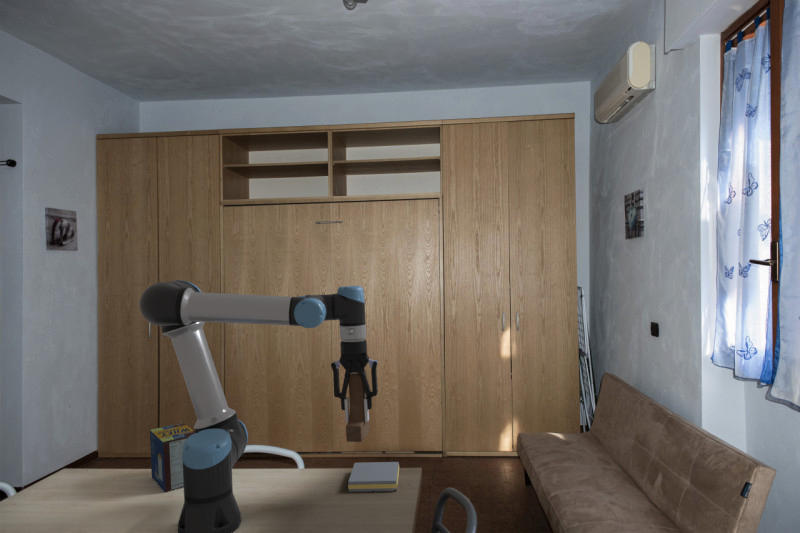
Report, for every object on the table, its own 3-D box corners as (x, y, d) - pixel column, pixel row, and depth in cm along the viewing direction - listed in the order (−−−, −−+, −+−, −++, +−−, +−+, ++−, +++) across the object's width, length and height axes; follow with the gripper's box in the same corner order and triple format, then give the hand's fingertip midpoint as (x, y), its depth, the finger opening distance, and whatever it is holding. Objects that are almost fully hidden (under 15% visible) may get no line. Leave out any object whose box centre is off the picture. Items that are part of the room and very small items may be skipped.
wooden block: (361, 442, 140) (358, 377, 140) (346, 442, 141) (342, 377, 141) (370, 431, 149) (366, 370, 149) (355, 431, 150) (352, 370, 150)
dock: (348, 492, 147) (348, 481, 147) (354, 472, 161) (354, 462, 161) (397, 491, 146) (396, 481, 146) (399, 471, 160) (399, 461, 160)
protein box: (184, 468, 169) (183, 422, 169) (200, 482, 157) (198, 433, 157) (150, 477, 162) (149, 429, 162) (164, 493, 150) (162, 441, 150)
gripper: (319, 343, 142) (323, 425, 142) (383, 340, 140) (387, 424, 141) (325, 339, 149) (329, 417, 149) (385, 336, 148) (389, 415, 148)
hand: (357, 420), depth 145 cm, fingers closed on wooden block, 5 cm apart
